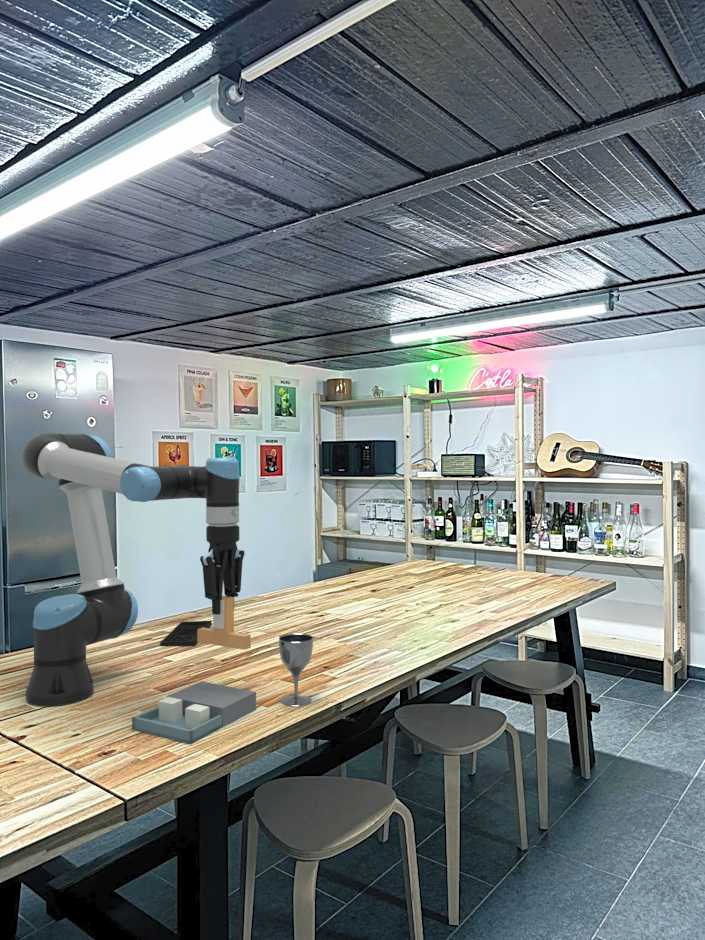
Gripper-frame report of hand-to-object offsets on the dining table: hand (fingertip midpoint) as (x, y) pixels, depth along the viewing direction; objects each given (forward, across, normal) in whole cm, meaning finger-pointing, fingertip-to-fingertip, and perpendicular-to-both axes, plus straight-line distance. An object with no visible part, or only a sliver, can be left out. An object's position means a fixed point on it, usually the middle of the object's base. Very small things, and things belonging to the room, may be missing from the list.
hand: (223, 626), depth 160 cm
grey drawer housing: (+19, -4, 0) cm, 19 cm away
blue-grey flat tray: (+19, -15, 0) cm, 24 cm away
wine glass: (+19, +11, -13) cm, 25 cm away
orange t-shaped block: (+4, 0, 0) cm, 4 cm away
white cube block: (+16, -12, +4) cm, 20 cm away
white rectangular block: (+16, -12, -4) cm, 20 cm away
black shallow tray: (+19, +46, +49) cm, 70 cm away
